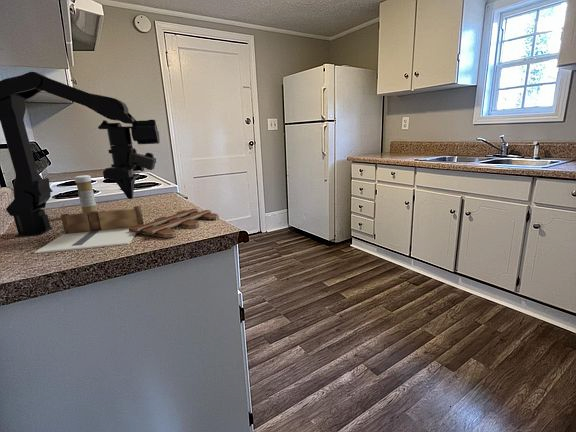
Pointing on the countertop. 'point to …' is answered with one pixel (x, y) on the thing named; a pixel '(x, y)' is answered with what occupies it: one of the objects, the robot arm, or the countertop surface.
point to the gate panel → (120, 218)
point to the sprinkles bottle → (86, 193)
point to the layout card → (89, 240)
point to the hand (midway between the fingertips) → (130, 198)
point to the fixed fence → (81, 222)
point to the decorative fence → (173, 223)
